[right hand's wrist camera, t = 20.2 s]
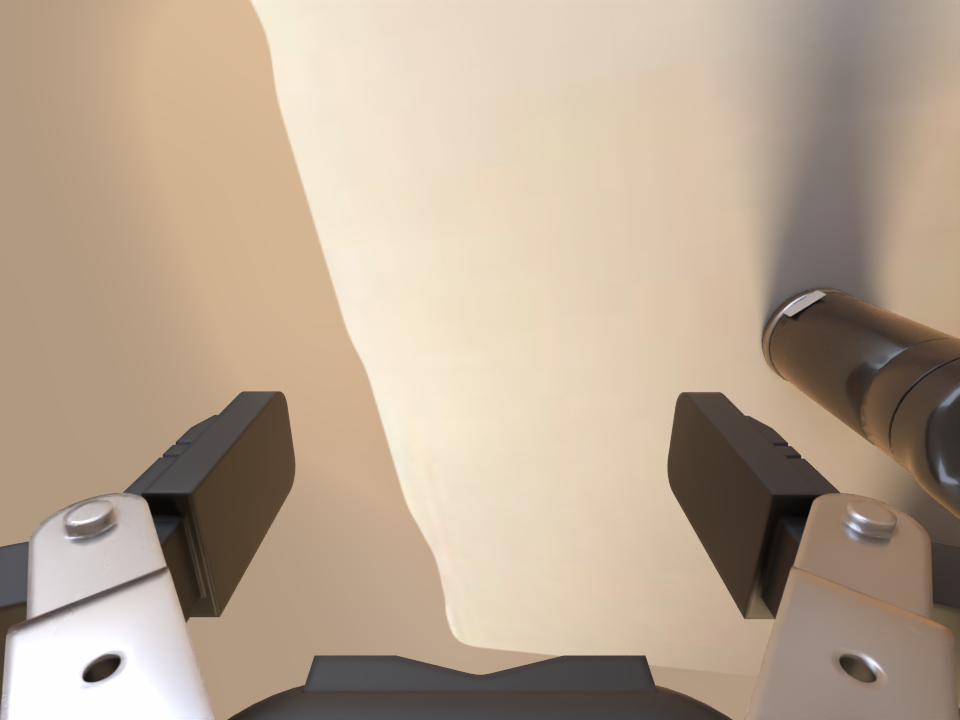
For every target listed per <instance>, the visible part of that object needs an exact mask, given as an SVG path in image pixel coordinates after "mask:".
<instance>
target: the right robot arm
mask: <svg viewBox="0 0 960 720" xmlns="http://www.w3.org/2000/svg"><path fill="white" fill-rule="evenodd" d="M763 353H764V357H765V360H766V362H767V364H768V365H769V367H770V368H771V369H772V370H773V371H774V372H775V373H776V374H778V375H779V376H780V377H782V378H783V379H785V380H786V381H788V382H790V383H792V384H793V385H794V386H796V387H797V388H798V389H799V390H801V391H802V392H803V393H805V394H806V395H807V396H809V397H810V398H811V399H813V400H814V401H815V402H817V403H818V404H819V405H821V406H822V407H823V408H825V409H826V410H827V411H829V412H830V413H831V414H833V415H834V416H835V417H837V418H838V419H839V420H841V421H842V422H844V423H845V424H846V425H848V426H849V427H850V428H852V429H853V430H854V431H856V432H857V433H858V434H860V435H861V436H862V437H864V438H865V439H866V440H868V441H869V442H870V443H872V444H873V445H875V446H876V447H877V448H879V449H880V450H881V451H883V452H884V453H885V454H887V455H888V456H889V457H891V458H892V459H893V460H895V461H896V462H898V463H899V464H900V465H902V466H903V467H904V468H906V469H907V470H908V471H910V472H911V473H912V474H913V475H914V477H915V479H916V481H917V482H918V484H919V485H920V486H921V487H922V488H923V489H924V490H925V491H926V492H927V493H928V494H929V495H930V496H931V497H932V498H934V499H935V500H936V501H937V502H938V503H940V504H941V505H942V506H943V507H945V508H946V509H947V510H948V511H949V512H951V513H952V514H953V515H954V516H955V517H957V518H958V519H959V520H960V339H958V338H955V337H953V336H950V335H948V334H945V333H943V332H940V331H937V330H935V329H932V328H930V327H927V326H925V325H922V324H920V323H917V322H915V321H912V320H910V319H907V318H904V317H902V316H899V315H897V314H894V313H892V312H889V311H887V310H884V309H882V308H879V307H877V306H874V305H871V304H869V303H867V302H864V301H862V300H859V299H857V298H855V297H853V296H851V295H849V294H847V293H844V292H842V291H839V290H836V289H830V288H817V289H812V290H808V291H805V292H802V293H800V294H798V295H796V296H794V297H792V298H791V299H789V300H788V301H786V302H785V303H784V304H783V305H782V306H780V307H779V309H778V310H777V311H776V312H775V313H774V314H773V316H772V317H771V319H770V320H769V322H768V324H767V327H766V329H765V332H764V336H763ZM294 476H295V456H294V449H293V442H292V435H291V428H290V421H289V414H288V407H287V401H286V398H285V396H284V394H283V393H282V392H241V393H240V394H239V395H238V396H237V397H236V398H235V399H234V400H233V401H232V402H231V403H230V404H229V405H228V406H227V407H226V408H225V409H224V410H223V411H222V412H221V413H220V414H219V415H214V416H212V417H210V418H208V419H206V420H204V421H203V422H201V423H199V424H197V425H195V426H193V427H191V428H190V429H189V430H188V431H187V432H186V433H185V434H184V435H183V436H182V437H181V438H180V439H179V440H178V441H177V442H176V445H172V446H171V447H170V448H169V449H168V450H167V451H166V452H165V453H164V454H163V458H159V459H158V460H157V461H156V462H155V463H154V464H153V465H151V466H150V467H149V468H148V469H147V470H146V471H145V472H144V473H143V474H142V475H141V476H140V477H139V478H138V479H137V480H136V481H135V482H134V483H133V484H132V485H131V486H130V487H128V488H127V489H126V490H125V491H124V492H123V493H114V494H106V495H101V496H96V497H92V498H89V499H86V500H83V501H80V502H77V503H75V504H72V505H70V506H68V507H66V508H64V509H62V510H60V511H58V512H56V513H55V514H53V515H51V516H50V517H49V518H47V519H46V520H44V521H43V522H42V523H41V524H40V525H39V526H38V527H37V528H36V529H35V530H34V531H33V533H32V535H31V537H30V540H29V542H24V543H18V544H13V545H8V546H3V547H0V720H216V719H215V716H214V713H213V710H212V706H211V703H210V700H209V697H208V693H207V690H206V687H205V684H204V680H203V677H202V674H201V671H200V667H199V664H198V661H197V658H196V654H195V651H194V648H193V645H192V641H191V638H190V635H189V632H188V628H187V625H186V622H187V621H188V619H189V618H190V617H220V616H221V614H222V612H223V610H224V609H225V607H226V605H227V603H228V601H229V600H230V598H231V596H232V594H233V592H234V591H235V589H236V587H237V585H238V583H239V582H240V580H241V578H242V576H243V575H244V573H245V571H246V569H247V567H248V566H249V564H250V562H251V560H252V558H253V557H254V555H255V553H256V551H257V549H258V548H259V546H260V544H261V542H262V541H263V539H264V537H265V535H266V533H267V532H268V530H269V528H270V526H271V524H272V523H273V521H274V519H275V517H276V515H277V514H278V512H279V510H280V508H281V507H282V505H283V503H284V501H285V499H286V498H287V496H288V494H289V492H290V490H291V488H292V485H293V481H294ZM668 478H669V483H670V487H671V489H672V491H673V493H674V495H675V497H676V499H677V500H678V502H679V504H680V506H681V508H682V509H683V511H684V513H685V515H686V516H687V518H688V520H689V522H690V523H691V525H692V527H693V529H694V531H695V532H696V534H697V536H698V538H699V539H700V541H701V543H702V545H703V546H704V548H705V550H706V552H707V553H708V555H709V557H710V559H711V561H712V562H713V564H714V566H715V568H716V569H717V571H718V573H719V575H720V576H721V578H722V580H723V582H724V584H725V585H726V587H727V589H728V591H729V592H730V594H731V596H732V598H733V599H734V601H735V603H736V605H737V607H738V608H739V610H740V612H741V614H742V615H743V617H744V619H775V622H774V625H773V628H772V632H771V635H770V638H769V641H768V645H767V648H766V651H765V654H764V658H763V661H762V664H761V667H760V671H759V674H758V677H757V680H756V684H755V687H754V690H753V694H752V697H751V700H750V703H749V707H748V710H747V713H746V716H745V720H960V548H959V547H953V546H948V545H943V544H938V543H933V542H931V540H930V537H929V535H928V533H927V531H926V530H925V529H924V528H923V527H922V526H921V525H920V524H919V523H918V522H917V521H916V520H914V519H913V518H912V517H910V516H909V515H907V514H905V513H904V512H902V511H900V510H898V509H896V508H894V507H892V506H890V505H888V504H885V503H883V502H880V501H877V500H874V499H871V498H868V497H864V496H859V495H854V494H846V493H840V492H839V491H838V490H837V489H836V488H835V487H834V486H833V485H832V484H831V483H829V482H828V481H827V480H826V479H825V478H824V477H823V476H822V475H821V474H820V473H819V472H818V471H817V470H816V469H815V468H814V467H813V466H812V465H810V464H809V463H808V462H807V461H806V460H805V459H801V455H800V454H799V453H798V452H797V451H796V450H795V449H794V448H793V447H791V446H788V443H787V442H786V441H785V440H784V439H783V438H782V437H781V436H780V435H779V434H778V433H777V432H776V431H775V430H774V429H772V428H771V427H769V426H767V425H765V424H763V423H761V422H759V421H757V420H755V419H754V418H752V417H750V416H745V415H744V414H743V413H742V412H741V411H740V410H739V409H738V408H737V407H736V406H735V405H734V404H733V403H732V402H731V401H730V400H729V399H728V398H727V397H726V396H725V395H724V394H722V393H720V392H683V393H681V394H680V395H679V397H678V399H677V402H676V407H675V414H674V421H673V428H672V435H671V442H670V448H669V455H668ZM228 720H732V719H731V718H729V717H728V716H726V715H724V714H722V713H721V712H719V711H717V710H715V709H714V708H712V707H710V706H708V705H707V704H705V703H702V702H700V701H698V700H696V699H694V698H692V697H689V696H687V695H685V694H682V693H679V692H676V691H673V690H670V689H668V688H664V687H660V686H656V685H655V684H654V681H653V678H652V675H651V672H650V668H649V665H648V662H647V659H646V656H560V657H556V658H552V659H548V660H544V661H540V662H536V663H532V664H528V665H523V666H519V667H515V668H511V669H507V670H503V671H499V672H495V673H491V674H485V675H475V674H469V673H465V672H461V671H457V670H453V669H449V668H444V667H441V666H437V665H432V664H428V663H424V662H420V661H416V660H412V659H408V658H403V657H400V656H314V659H313V662H312V665H311V668H310V672H309V675H308V678H307V681H306V684H305V685H303V686H300V687H296V688H292V689H290V690H287V691H284V692H281V693H278V694H275V695H273V696H271V697H268V698H266V699H264V700H262V701H260V702H258V703H255V704H253V705H251V706H250V707H248V708H246V709H244V710H243V711H241V712H239V713H238V714H236V715H234V716H232V717H231V718H229V719H228Z"/></svg>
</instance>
